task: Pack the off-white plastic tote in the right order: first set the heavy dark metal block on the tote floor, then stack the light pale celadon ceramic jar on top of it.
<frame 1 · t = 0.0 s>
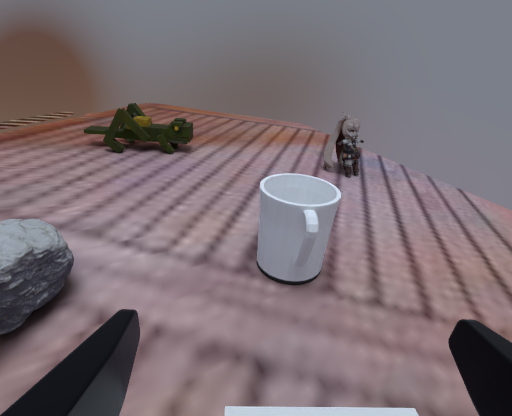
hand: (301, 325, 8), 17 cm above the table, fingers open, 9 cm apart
mug: (289, 269, 37), on the table
toy 2: (141, 149, 75), on the table
toy: (340, 171, 71), on the table
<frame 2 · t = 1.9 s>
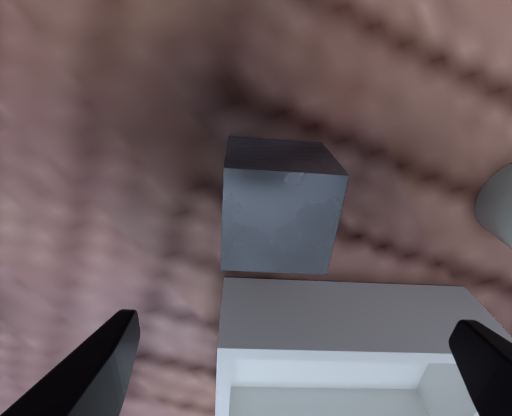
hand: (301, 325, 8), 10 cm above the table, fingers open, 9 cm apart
metal block: (271, 182, 18), on the table
tote: (332, 337, 24), on the table
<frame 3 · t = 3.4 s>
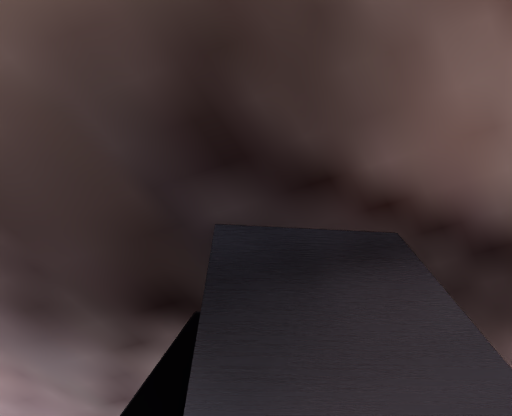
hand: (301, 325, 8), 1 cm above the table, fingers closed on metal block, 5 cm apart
metal block: (295, 298, 9), on the table, touching gripper
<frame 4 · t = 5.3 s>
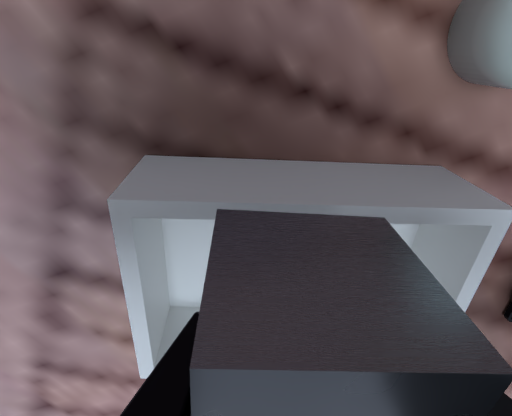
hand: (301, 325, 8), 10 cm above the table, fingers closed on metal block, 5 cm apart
metal block: (291, 279, 10), point 9 cm above the table, touching gripper
jar: (498, 28, 15), on the table
tote: (288, 241, 20), on the table
when the fingers open (4 cm above the table, at t = 7.4 s): metal block stays where it is, resting on tote.
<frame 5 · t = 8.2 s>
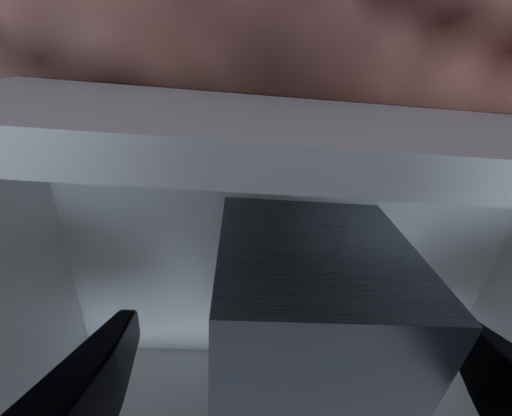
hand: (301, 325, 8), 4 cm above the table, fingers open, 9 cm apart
metal block: (292, 263, 11), point 1 cm above the table, touching tote
tote: (285, 247, 12), on the table
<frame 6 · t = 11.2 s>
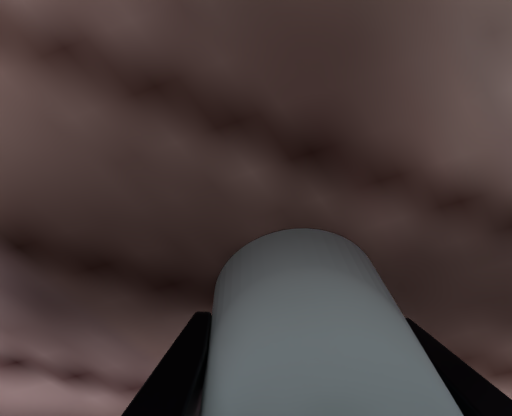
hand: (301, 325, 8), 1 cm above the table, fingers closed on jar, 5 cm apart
jar: (295, 297, 9), on the table, touching gripper
when the fingers open (8 cm above the table, at t = 14.6 s): jar stays where it is, resting on metal block.
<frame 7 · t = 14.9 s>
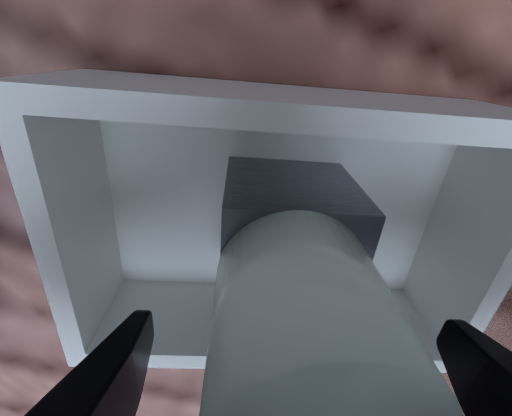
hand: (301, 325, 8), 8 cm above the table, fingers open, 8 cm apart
metal block: (279, 209, 15), point 1 cm above the table, touching jar, tote
jar: (291, 276, 10), point 6 cm above the table, touching metal block
tote: (274, 200, 16), on the table
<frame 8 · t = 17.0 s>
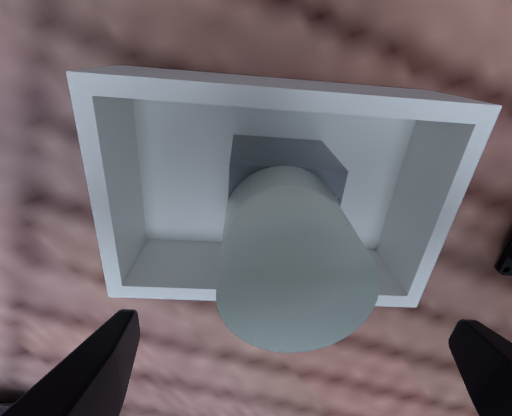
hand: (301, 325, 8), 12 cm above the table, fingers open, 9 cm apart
metal block: (273, 178, 18), point 1 cm above the table, touching jar, tote
jar: (280, 218, 14), point 6 cm above the table, touching metal block
tote: (269, 172, 19), on the table
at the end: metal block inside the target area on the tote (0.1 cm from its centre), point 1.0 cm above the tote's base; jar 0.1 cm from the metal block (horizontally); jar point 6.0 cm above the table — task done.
